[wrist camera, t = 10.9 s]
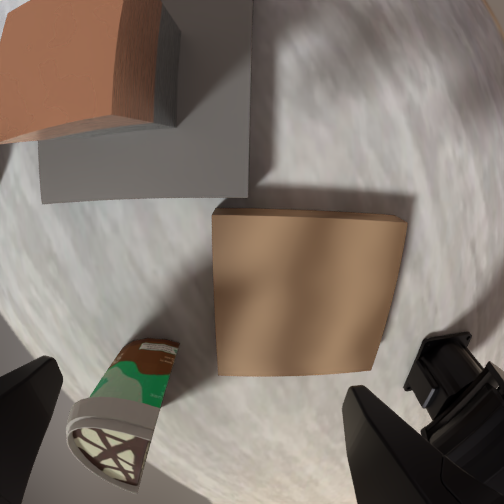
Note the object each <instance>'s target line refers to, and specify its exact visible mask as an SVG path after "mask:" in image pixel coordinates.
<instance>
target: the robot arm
mask: <svg viewBox="0 0 504 504" xmlns="http://www.w3.org/2000/svg"><path fill="white" fill-rule="evenodd" d="M471 337H472V335H471V334H470V332H464V333H459V334H453V335H447V336H441V337H434V338H427V339H425V340H424V341H423V342H422V344H421V347H420V349H419V352H418V354H417V357H416V359H415V361H414V364H413V366H412V369H411V371H410V373H409V375H408V378H407V380H406V382H405V384H404V387H403V388H404V390H405V391H411V390H413V392H414V393H415V395H416V397H417V399H418V401H419V403H420V405H421V406H422V408H426V409H427V411H428V413H429V415H430V417H431V419H432V420H433V421H432V422H431V423H430V424H428V425H427V426H425V427H424V428H423V429H421V435H422V436H421V435H420V434H419V433H418V432H417V431H415V430H414V429H413V428H412V427H411V426H410V425H409V424H407V423H406V422H405V421H404V420H403V419H402V418H400V417H399V416H398V415H397V414H396V413H395V412H394V411H392V410H391V409H390V408H389V407H388V406H387V405H386V404H385V403H383V402H382V401H381V400H380V399H379V398H378V397H377V396H375V395H374V394H373V393H372V392H371V391H370V390H369V389H368V388H366V387H365V386H363V385H358V386H351V387H350V388H349V389H348V391H347V394H346V397H345V400H344V403H343V406H342V414H343V423H344V432H345V441H346V451H347V457H348V462H349V467H350V471H351V476H352V480H353V485H354V489H355V494H356V499H357V504H504V371H503V370H501V369H500V368H498V367H497V366H496V365H494V364H493V363H492V362H490V361H489V362H488V363H487V364H486V367H485V368H483V367H482V366H481V364H480V363H479V362H478V361H477V359H476V358H475V357H474V356H473V355H472V353H471V352H470V351H469V350H468V349H467V346H468V344H469V342H470V339H471ZM62 384H63V376H62V374H61V371H60V369H59V367H58V364H57V362H56V360H55V359H54V358H52V357H49V356H41V357H39V358H37V359H35V360H33V361H31V362H30V363H27V364H25V365H23V366H21V367H19V368H17V369H15V370H13V371H11V372H9V373H7V374H5V375H3V376H1V377H0V504H21V503H22V499H23V496H24V493H25V489H26V486H27V483H28V480H29V477H30V474H31V470H32V467H33V465H34V462H35V459H36V456H37V454H38V451H39V448H40V446H41V443H42V440H43V438H44V435H45V433H46V430H47V428H48V425H49V423H50V420H51V418H52V415H53V411H54V408H55V405H56V402H57V399H58V396H59V393H60V390H61V387H62ZM498 386H499V387H498ZM497 387H498V388H497ZM496 388H497V389H496Z"/></svg>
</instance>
